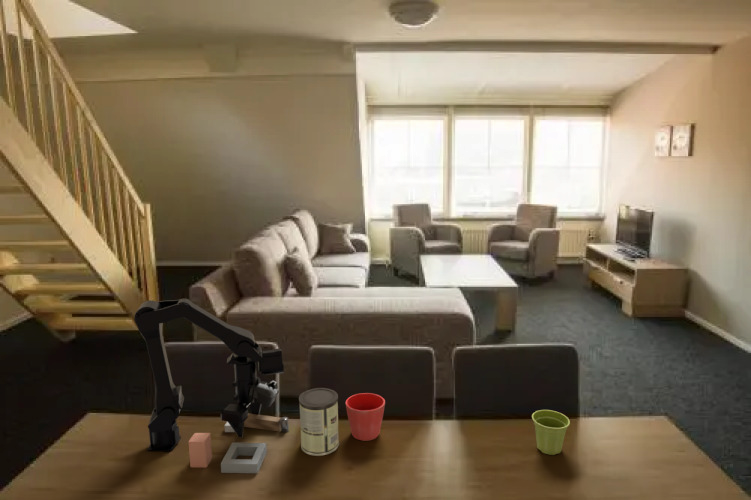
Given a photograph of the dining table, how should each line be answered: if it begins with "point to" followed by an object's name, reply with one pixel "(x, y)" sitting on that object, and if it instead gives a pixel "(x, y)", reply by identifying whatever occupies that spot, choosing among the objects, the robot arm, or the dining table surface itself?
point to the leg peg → (200, 450)
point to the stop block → (228, 428)
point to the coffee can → (319, 421)
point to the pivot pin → (284, 424)
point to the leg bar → (263, 422)
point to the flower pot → (365, 415)
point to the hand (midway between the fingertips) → (248, 428)
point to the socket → (244, 465)
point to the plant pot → (550, 430)
